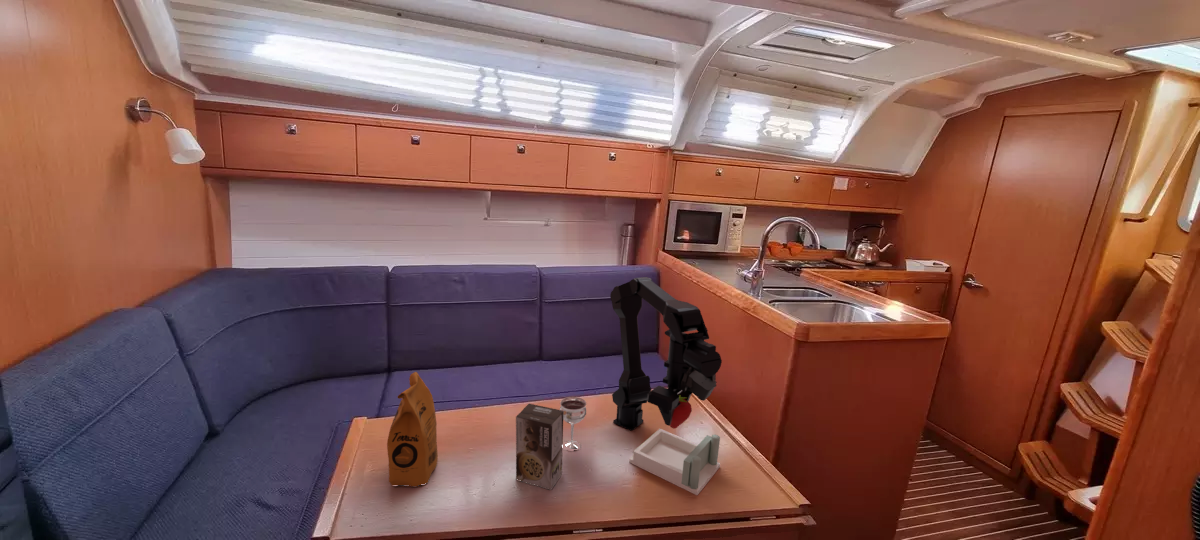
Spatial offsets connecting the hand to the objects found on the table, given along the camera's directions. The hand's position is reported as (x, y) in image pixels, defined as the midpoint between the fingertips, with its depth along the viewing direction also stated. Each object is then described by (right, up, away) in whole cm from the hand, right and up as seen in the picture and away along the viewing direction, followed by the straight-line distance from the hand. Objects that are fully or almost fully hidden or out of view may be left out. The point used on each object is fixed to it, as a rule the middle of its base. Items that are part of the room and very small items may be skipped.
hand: (674, 419), depth 108 cm
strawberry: (0, -3, +1) cm, 3 cm away
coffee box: (-32, -12, -5) cm, 34 cm away
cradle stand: (0, -12, +2) cm, 12 cm away
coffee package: (-60, -10, -5) cm, 62 cm away
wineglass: (-25, -9, +7) cm, 28 cm away
